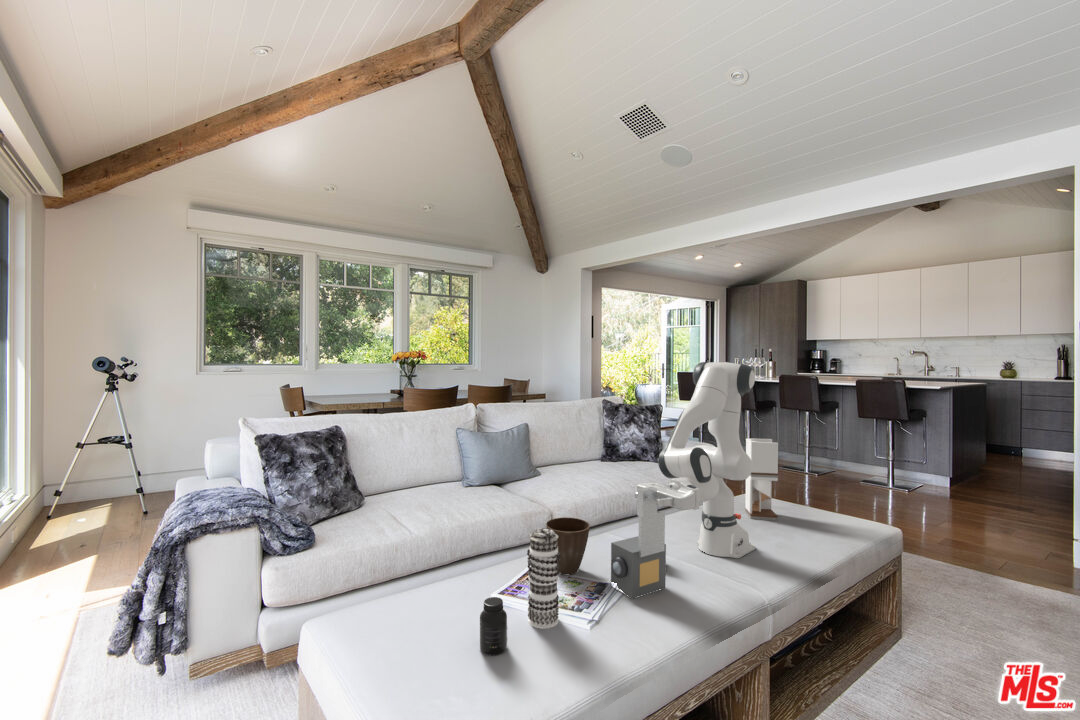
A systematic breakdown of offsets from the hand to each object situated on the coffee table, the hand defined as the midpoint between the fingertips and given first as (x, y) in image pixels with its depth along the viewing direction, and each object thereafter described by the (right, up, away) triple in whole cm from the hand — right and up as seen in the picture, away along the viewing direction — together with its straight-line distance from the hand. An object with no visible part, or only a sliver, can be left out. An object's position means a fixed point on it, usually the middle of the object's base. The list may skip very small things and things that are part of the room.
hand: (646, 498), depth 159 cm
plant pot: (-23, -30, +19) cm, 42 cm away
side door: (+2, -17, +1) cm, 17 cm away
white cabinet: (+70, -30, +82) cm, 111 cm away
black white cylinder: (-32, -30, -15) cm, 46 cm away
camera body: (-1, -30, +7) cm, 31 cm away
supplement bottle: (-44, -30, -29) cm, 61 cm away
